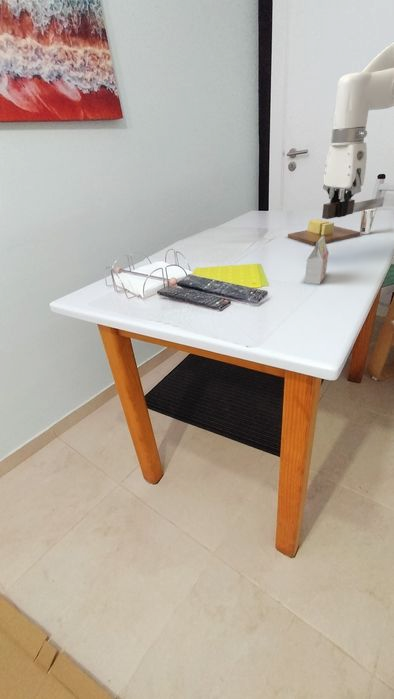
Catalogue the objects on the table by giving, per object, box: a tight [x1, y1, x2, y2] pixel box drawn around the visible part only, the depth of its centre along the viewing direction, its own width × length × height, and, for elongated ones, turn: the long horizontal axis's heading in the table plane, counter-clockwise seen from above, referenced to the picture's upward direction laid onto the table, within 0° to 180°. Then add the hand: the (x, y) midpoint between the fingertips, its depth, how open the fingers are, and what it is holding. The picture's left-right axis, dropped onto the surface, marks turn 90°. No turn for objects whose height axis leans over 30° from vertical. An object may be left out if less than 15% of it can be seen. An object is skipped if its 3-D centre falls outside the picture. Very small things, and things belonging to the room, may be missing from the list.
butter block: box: [307, 218, 330, 234], centre depth 120 cm, size 4×6×4 cm, turn 24°
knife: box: [321, 196, 385, 220], centre depth 93 cm, size 21×2×4 cm, turn 114°
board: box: [287, 225, 361, 247], centre depth 119 cm, size 20×14×1 cm
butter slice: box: [321, 221, 335, 235], centre depth 116 cm, size 4×1×4 cm, turn 114°
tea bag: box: [304, 236, 329, 285], centre depth 84 cm, size 4×7×10 cm, turn 151°
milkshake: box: [359, 207, 378, 235], centre depth 117 cm, size 4×5×10 cm
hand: (337, 215), depth 93 cm, fingers closed on knife, 2 cm apart
